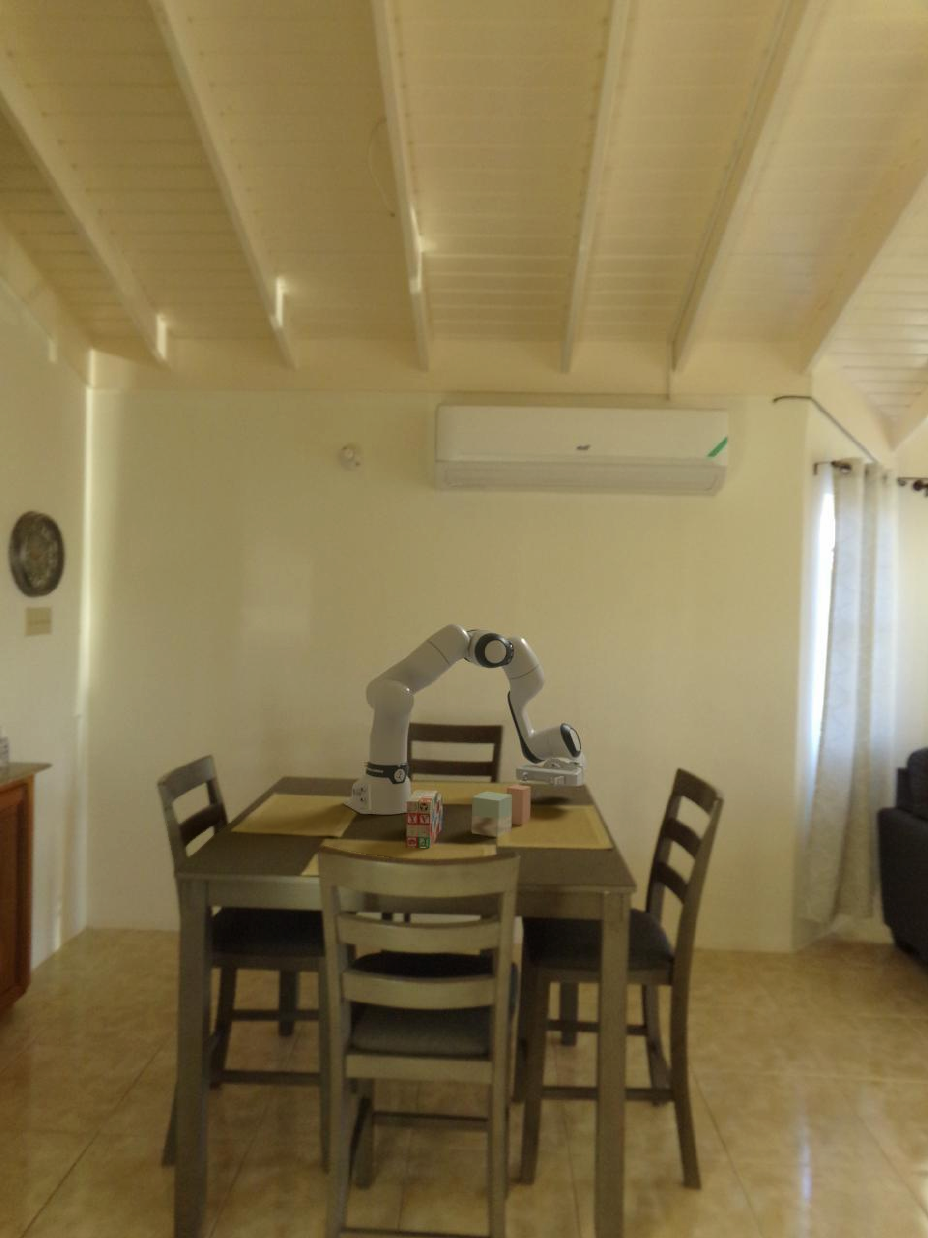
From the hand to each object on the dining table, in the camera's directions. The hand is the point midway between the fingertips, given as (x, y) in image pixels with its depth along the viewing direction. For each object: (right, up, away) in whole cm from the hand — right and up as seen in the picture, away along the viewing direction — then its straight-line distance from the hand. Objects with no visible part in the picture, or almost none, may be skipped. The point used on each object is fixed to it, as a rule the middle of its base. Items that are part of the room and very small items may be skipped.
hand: (538, 780), depth 276 cm
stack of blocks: (-32, -11, -27) cm, 43 cm away
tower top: (-14, -6, -21) cm, 26 cm away
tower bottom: (-14, -11, -21) cm, 27 cm away
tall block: (-6, -10, -10) cm, 16 cm away
